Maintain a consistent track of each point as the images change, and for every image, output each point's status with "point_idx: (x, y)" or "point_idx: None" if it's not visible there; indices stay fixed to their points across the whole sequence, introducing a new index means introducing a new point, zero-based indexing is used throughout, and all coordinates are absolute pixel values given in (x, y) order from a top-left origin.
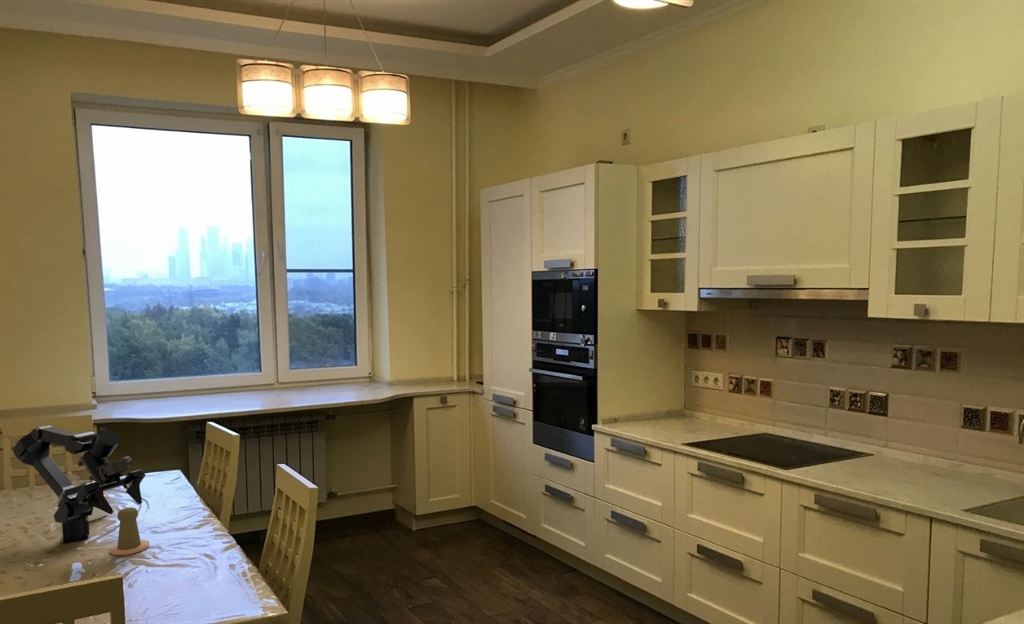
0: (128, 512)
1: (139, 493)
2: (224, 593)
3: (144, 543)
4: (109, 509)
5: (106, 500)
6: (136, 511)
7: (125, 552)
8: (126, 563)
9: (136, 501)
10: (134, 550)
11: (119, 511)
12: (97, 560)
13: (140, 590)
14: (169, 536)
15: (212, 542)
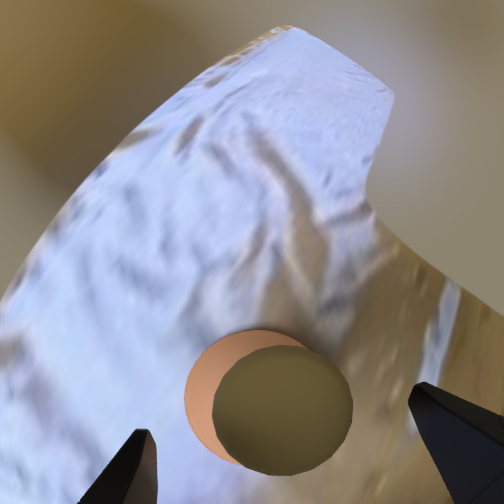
0: (315, 355)
1: (100, 492)
2: (291, 53)
3: (210, 373)
4: (445, 393)
5: (492, 432)
6: (247, 357)
7: (306, 348)
8: (338, 273)
9: (155, 485)
10: (277, 336)
11: (343, 433)
12: (377, 387)
13: (372, 127)
14: (100, 375)
15: (106, 194)
